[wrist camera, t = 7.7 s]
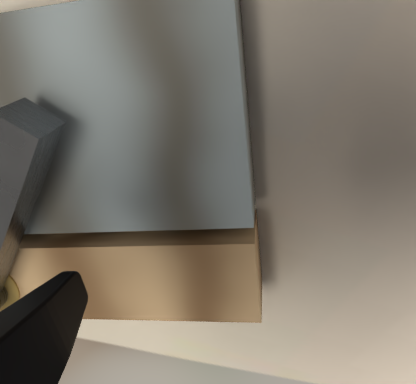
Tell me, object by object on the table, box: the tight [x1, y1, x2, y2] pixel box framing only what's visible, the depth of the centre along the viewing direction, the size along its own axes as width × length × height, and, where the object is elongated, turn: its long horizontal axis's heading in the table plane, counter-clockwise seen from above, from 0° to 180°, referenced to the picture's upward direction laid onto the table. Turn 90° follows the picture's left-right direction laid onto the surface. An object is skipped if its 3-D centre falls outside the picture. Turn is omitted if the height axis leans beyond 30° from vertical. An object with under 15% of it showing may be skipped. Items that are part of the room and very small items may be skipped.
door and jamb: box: [0, 0, 262, 323], centre depth 17 cm, size 18×16×4 cm
